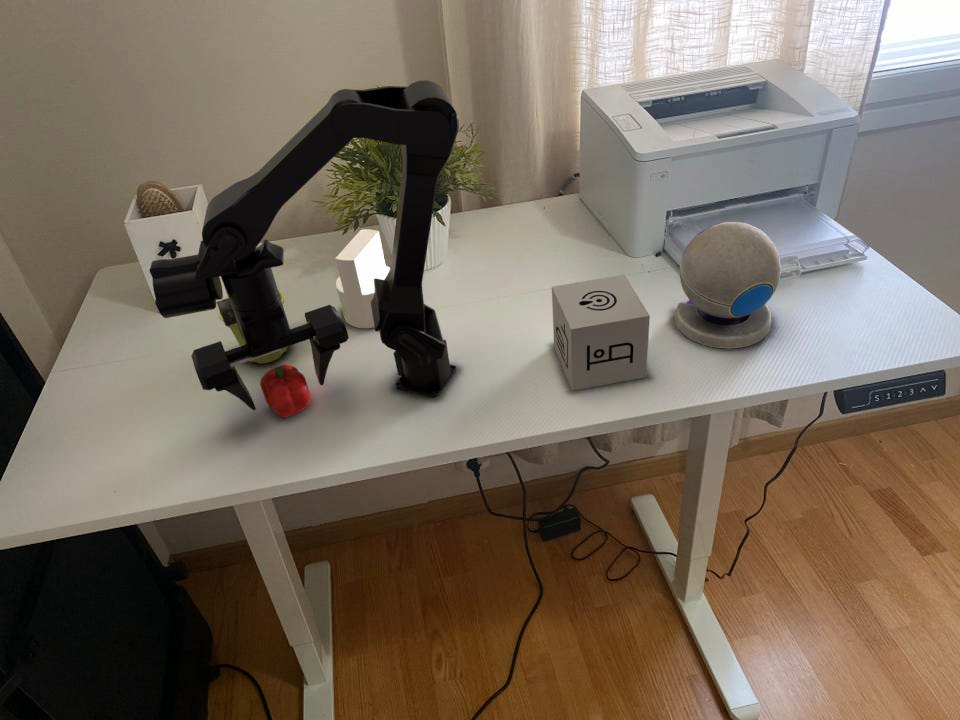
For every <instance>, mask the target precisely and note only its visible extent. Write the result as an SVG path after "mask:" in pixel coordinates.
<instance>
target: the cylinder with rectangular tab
mask: <svg viewBox="0 0 960 720" xmlns="http://www.w3.org/2000/svg"><path fill="white" fill-rule="evenodd" d="M334 259H335V262H336V267H337V270H338V271H337V272H338V274H339V275H338V277H337V279H336V281H335V287H336V291H337V296H338V299H339V303H340V307H341V310H342V315H343V317H344V321H345V323H347V324H348V325H349V326H352V327H353V328H357V329H375V327H374V320H373V314H372V308H371V301H372V299H373V297H374V293H375V287H374V278H376V279H381V280H385V278H386V276H387V275H388V273H389V271H390V267H391V266H388V265H386V260H385V256H384V250H383V244H382V241H381V235H380V231H379V230H375V229H360V230H359V231H358V232H357V233H356V234H355V236H354V237H353V238H352V239H351V240H350V241H349V242H348V243H347V244H346V245H345V247H344V248H343V249H342V250H341V251H340V252H339V254H338V255H337V256H336V257H335V258H334Z"/></svg>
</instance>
